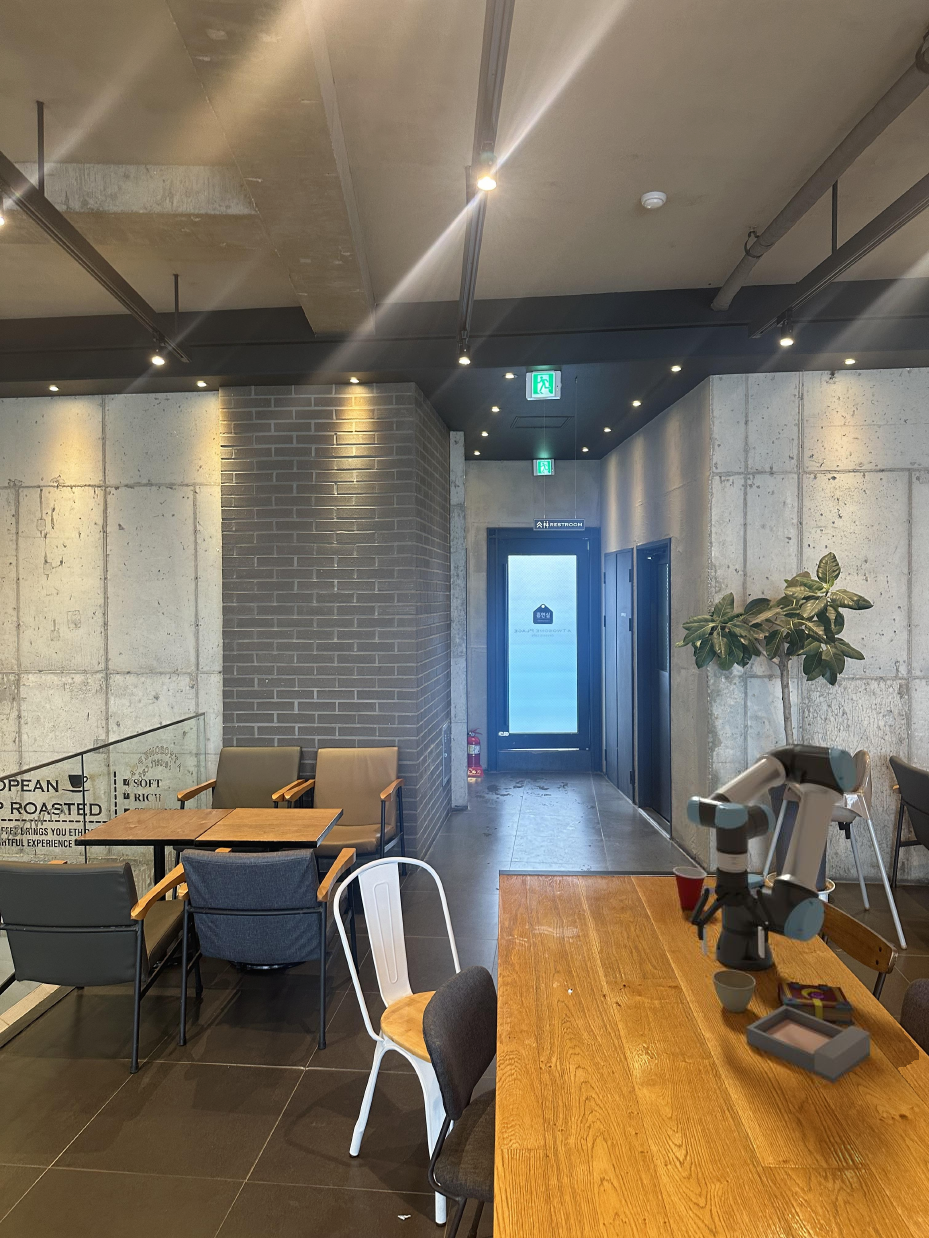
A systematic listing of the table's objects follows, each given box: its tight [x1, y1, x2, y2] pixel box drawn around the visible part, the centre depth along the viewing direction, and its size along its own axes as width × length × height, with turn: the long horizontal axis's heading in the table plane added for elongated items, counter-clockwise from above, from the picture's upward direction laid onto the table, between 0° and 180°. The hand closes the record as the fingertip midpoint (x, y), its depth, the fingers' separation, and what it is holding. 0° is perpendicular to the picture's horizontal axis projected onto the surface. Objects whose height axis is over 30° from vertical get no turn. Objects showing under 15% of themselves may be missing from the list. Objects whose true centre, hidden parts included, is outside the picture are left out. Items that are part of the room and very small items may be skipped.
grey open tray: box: [746, 1005, 871, 1084], centre depth 175 cm, size 16×20×5 cm
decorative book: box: [777, 981, 856, 1027], centre depth 191 cm, size 11×16×5 cm
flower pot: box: [712, 969, 757, 1013], centre depth 194 cm, size 10×10×7 cm
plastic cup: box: [672, 866, 708, 911], centre depth 261 cm, size 11×11×12 cm
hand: (732, 954), depth 194 cm, fingers open, 13 cm apart
